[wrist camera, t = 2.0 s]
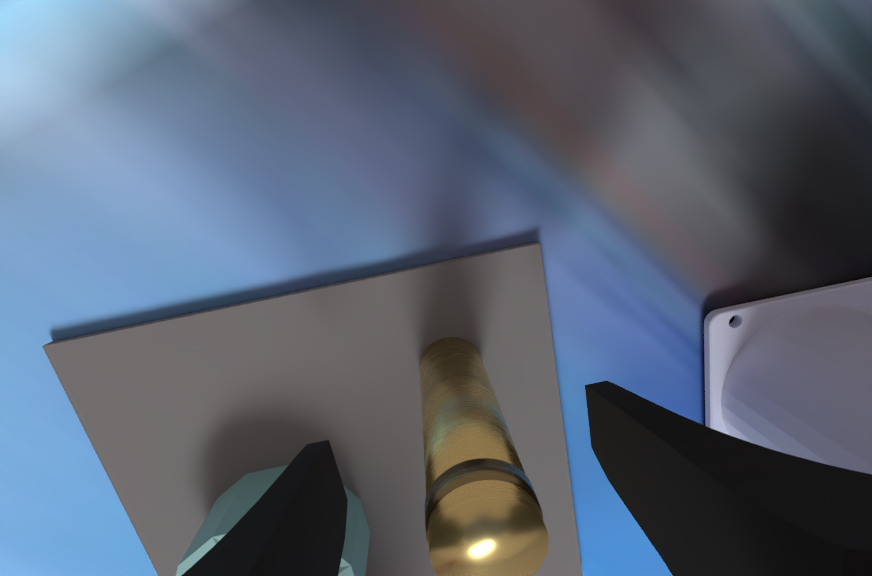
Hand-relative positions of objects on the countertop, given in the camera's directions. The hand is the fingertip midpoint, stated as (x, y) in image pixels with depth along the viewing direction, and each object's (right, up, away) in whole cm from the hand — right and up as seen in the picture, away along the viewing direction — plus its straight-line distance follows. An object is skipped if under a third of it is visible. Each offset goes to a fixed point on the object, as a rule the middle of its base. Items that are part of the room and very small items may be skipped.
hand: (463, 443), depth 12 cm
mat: (-4, -3, +6) cm, 8 cm away
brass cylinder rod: (0, +1, +4) cm, 5 cm away
